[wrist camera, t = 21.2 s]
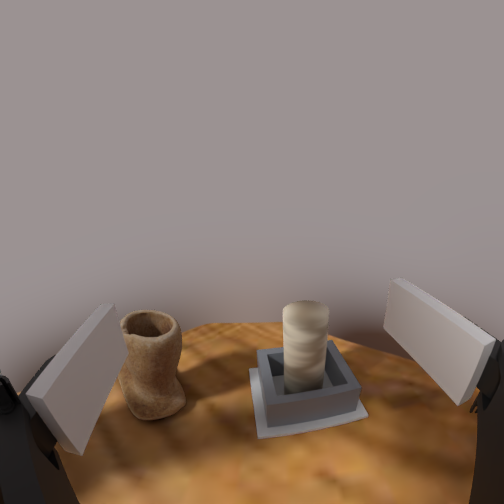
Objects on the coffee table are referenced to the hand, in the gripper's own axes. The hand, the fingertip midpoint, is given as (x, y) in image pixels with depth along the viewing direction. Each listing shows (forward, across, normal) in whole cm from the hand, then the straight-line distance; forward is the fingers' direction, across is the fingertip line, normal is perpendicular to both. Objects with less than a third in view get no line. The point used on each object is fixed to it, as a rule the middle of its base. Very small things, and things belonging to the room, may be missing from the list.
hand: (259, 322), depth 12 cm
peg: (+20, +8, -25) cm, 33 cm away
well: (+20, +8, -26) cm, 34 cm away
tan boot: (+24, -16, -26) cm, 39 cm away
